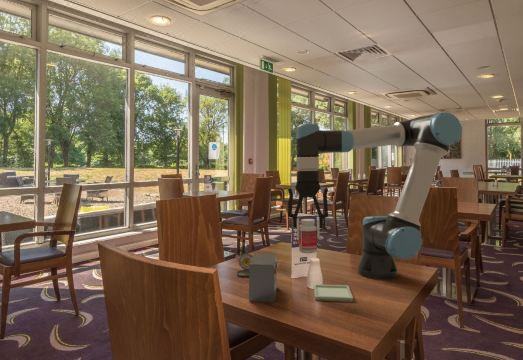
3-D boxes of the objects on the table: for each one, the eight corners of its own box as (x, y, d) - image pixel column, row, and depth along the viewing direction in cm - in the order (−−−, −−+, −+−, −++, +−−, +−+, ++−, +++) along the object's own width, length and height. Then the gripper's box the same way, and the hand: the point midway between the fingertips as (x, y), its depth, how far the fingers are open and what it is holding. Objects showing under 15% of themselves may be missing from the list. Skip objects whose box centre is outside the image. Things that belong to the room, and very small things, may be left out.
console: (278, 287, 131) (278, 253, 131) (276, 302, 117) (276, 264, 117) (253, 286, 132) (253, 253, 131) (247, 301, 118) (247, 264, 117)
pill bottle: (320, 252, 126) (320, 220, 126) (306, 254, 123) (306, 221, 122) (309, 248, 131) (308, 217, 131) (295, 251, 128) (295, 219, 128)
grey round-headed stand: (240, 278, 142) (240, 252, 141) (232, 272, 149) (232, 247, 149) (259, 275, 145) (259, 250, 145) (251, 269, 153) (251, 245, 152)
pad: (348, 288, 130) (348, 285, 130) (353, 301, 118) (353, 297, 118) (313, 287, 131) (313, 284, 131) (315, 300, 119) (315, 296, 119)
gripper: (335, 169, 128) (335, 235, 130) (280, 170, 131) (280, 235, 132) (337, 170, 121) (337, 240, 122) (278, 170, 123) (279, 239, 124)
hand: (308, 237), depth 127 cm, fingers closed on pill bottle, 6 cm apart
